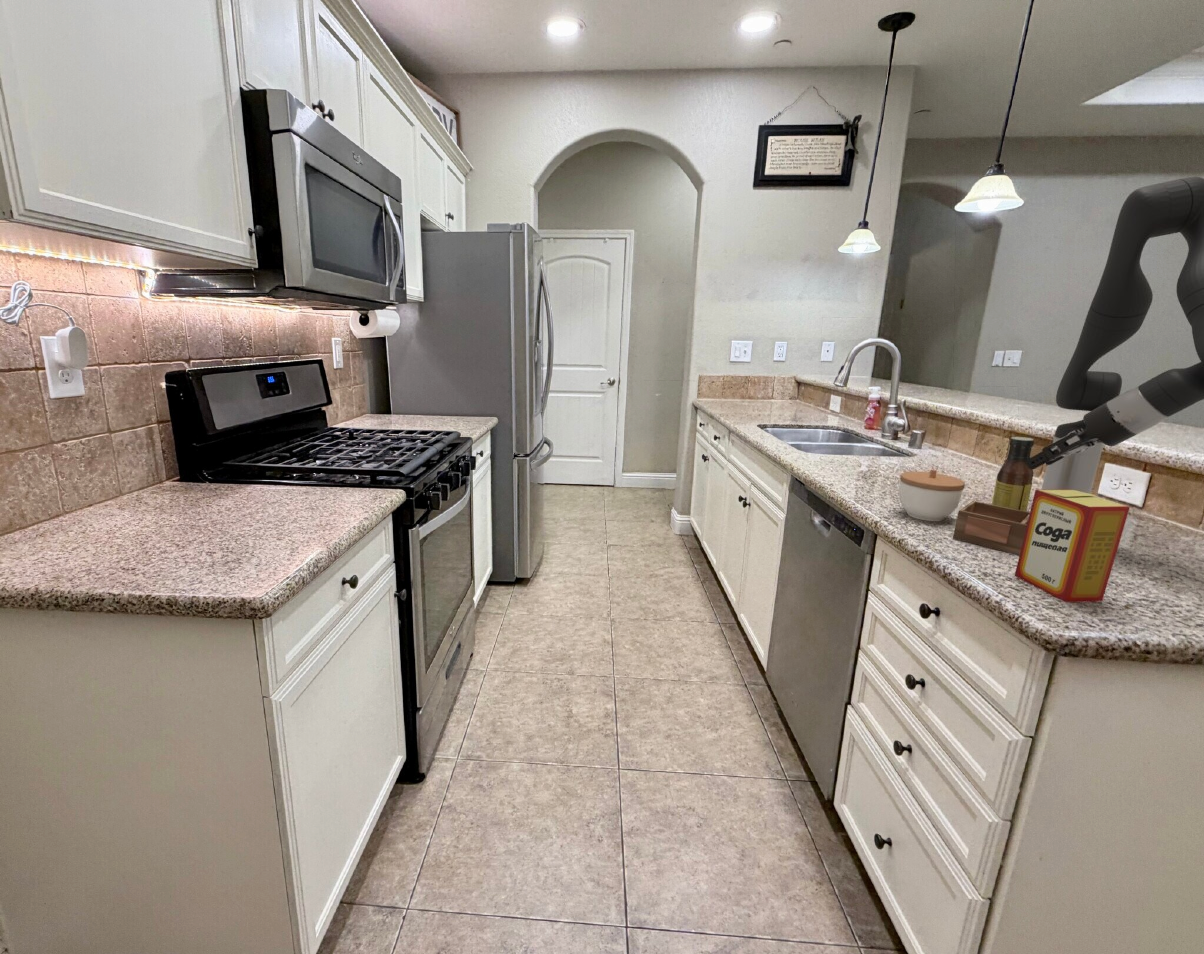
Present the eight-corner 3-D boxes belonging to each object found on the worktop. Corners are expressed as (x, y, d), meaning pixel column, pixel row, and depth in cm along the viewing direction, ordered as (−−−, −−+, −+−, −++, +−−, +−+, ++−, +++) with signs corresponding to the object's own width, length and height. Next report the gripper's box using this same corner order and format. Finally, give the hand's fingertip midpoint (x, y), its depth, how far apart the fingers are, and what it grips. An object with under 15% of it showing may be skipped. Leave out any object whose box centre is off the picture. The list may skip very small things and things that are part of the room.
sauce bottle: (1010, 523, 122) (1031, 436, 116) (1029, 533, 116) (1051, 441, 110) (980, 521, 122) (999, 434, 117) (996, 531, 116) (1017, 440, 111)
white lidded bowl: (938, 529, 116) (948, 479, 113) (883, 512, 127) (890, 466, 124) (968, 520, 123) (978, 473, 120) (912, 505, 133) (920, 461, 130)
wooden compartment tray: (967, 526, 118) (972, 500, 117) (1092, 556, 104) (1101, 526, 102) (952, 538, 111) (958, 510, 109) (1085, 572, 96) (1093, 540, 95)
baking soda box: (1102, 601, 86) (1130, 504, 81) (1065, 602, 85) (1091, 504, 81) (1048, 575, 95) (1071, 487, 91) (1014, 575, 94) (1036, 487, 90)
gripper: (1121, 399, 106) (1037, 445, 118) (1097, 402, 98) (1009, 451, 110) (1151, 430, 103) (1061, 474, 115) (1127, 436, 95) (1034, 483, 107)
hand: (1036, 463), depth 113 cm, fingers open, 8 cm apart
